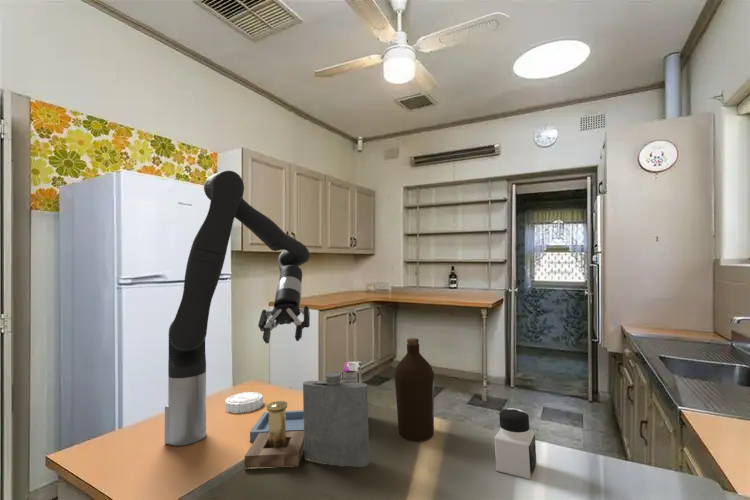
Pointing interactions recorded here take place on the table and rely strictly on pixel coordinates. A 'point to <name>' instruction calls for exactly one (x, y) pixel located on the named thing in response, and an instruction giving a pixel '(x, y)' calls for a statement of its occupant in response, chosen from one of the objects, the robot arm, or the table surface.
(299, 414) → the slate tray
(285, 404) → the brass pin
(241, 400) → the mooncake
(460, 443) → the table surface
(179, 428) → the robot arm
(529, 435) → the medicine bottle
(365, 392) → the hip flask
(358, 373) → the candy bar box
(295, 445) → the walnut pin block
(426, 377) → the olive oil
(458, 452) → the table surface
